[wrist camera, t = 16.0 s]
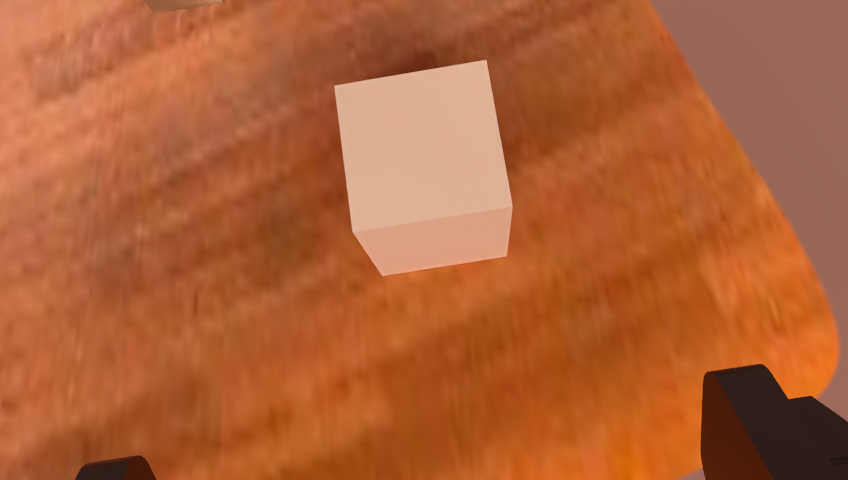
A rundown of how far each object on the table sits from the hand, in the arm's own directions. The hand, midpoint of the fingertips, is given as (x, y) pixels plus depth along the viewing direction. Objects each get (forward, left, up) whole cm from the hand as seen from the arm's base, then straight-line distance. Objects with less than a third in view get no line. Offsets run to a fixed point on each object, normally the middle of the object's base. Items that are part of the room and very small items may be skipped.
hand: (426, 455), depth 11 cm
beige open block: (0, +12, -27) cm, 29 cm away
